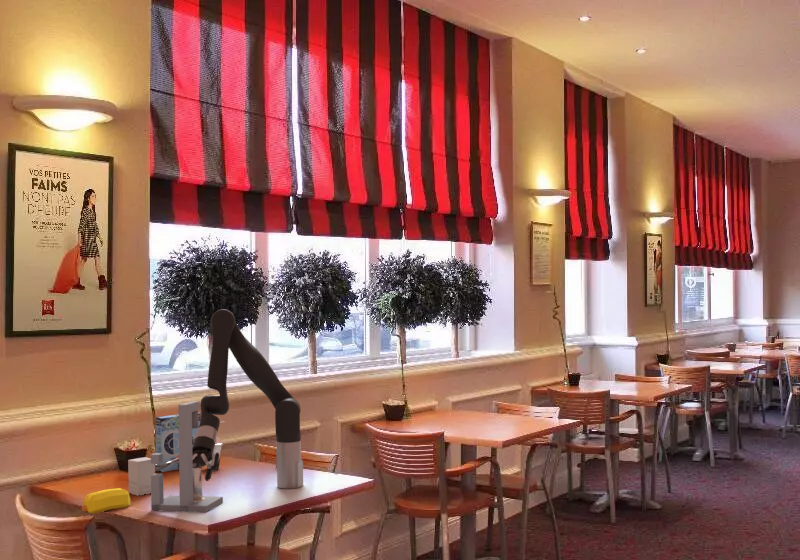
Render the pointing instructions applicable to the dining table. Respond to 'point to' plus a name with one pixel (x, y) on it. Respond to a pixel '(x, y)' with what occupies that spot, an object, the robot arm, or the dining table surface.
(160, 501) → the press
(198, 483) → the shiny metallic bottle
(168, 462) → the lever
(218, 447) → the cup with straw
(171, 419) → the blue cereal box
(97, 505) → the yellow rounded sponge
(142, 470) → the supplement box
